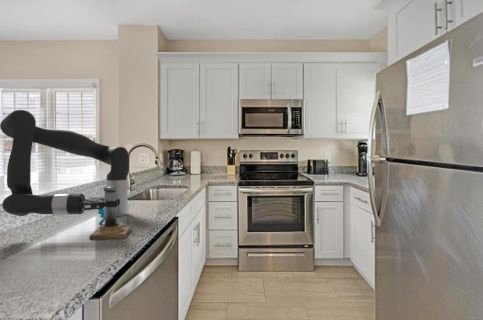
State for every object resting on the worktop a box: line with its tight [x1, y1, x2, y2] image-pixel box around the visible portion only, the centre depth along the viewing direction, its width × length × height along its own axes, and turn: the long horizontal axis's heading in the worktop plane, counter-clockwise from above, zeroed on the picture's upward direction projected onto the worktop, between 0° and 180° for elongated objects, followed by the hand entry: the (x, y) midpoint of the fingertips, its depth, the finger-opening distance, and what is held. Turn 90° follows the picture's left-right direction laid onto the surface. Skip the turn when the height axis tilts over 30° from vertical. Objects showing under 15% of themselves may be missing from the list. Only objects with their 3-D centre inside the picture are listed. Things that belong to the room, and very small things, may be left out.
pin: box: [103, 186, 117, 226], centre depth 116 cm, size 5×5×14 cm
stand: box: [89, 222, 132, 241], centre depth 117 cm, size 12×12×4 cm
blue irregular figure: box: [97, 208, 119, 225], centre depth 134 cm, size 11×6×10 cm
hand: (118, 202), depth 117 cm, fingers closed on pin, 4 cm apart
